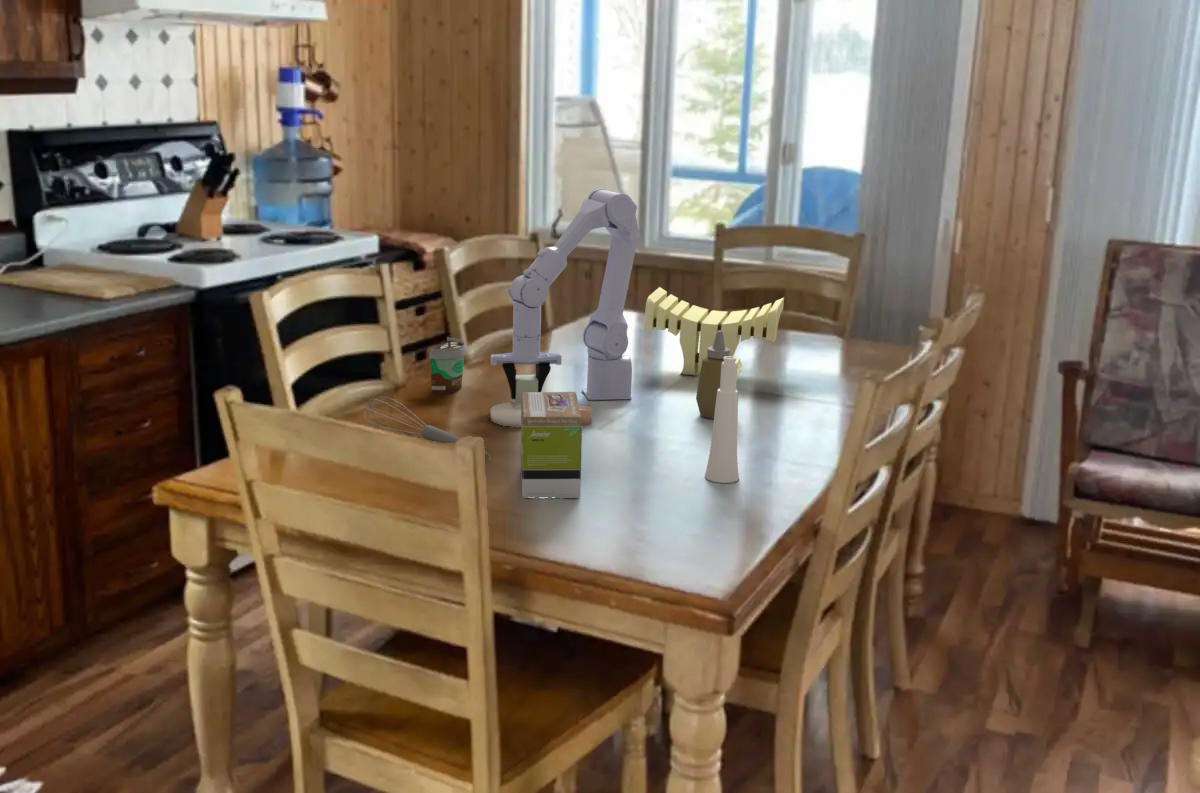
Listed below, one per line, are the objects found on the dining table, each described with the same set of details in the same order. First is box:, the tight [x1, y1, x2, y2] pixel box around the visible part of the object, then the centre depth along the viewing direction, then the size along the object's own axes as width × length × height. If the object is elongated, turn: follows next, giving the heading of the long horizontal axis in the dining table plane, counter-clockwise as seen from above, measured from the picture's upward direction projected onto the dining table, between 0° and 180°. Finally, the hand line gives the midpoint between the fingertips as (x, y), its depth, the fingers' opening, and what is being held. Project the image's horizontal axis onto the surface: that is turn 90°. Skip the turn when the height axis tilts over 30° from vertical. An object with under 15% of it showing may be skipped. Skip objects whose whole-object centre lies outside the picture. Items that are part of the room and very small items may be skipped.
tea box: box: [520, 391, 583, 499], centre depth 206 cm, size 15×10×15 cm, turn 5°
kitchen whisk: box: [363, 395, 492, 462], centre depth 227 cm, size 6×34×6 cm, turn 50°
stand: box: [490, 401, 521, 428], centre depth 243 cm, size 11×11×2 cm
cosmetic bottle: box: [704, 356, 740, 484], centre depth 211 cm, size 6×6×22 cm
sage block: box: [512, 374, 538, 402], centre depth 253 cm, size 4×4×6 cm
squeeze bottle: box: [695, 331, 730, 420], centre depth 249 cm, size 8×8×18 cm
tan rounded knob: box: [579, 404, 593, 427], centre depth 243 cm, size 5×5×3 cm
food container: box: [428, 336, 468, 394], centre depth 262 cm, size 12×6×10 cm, turn 168°
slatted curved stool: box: [643, 286, 785, 377], centre depth 284 cm, size 30×16×18 cm, turn 76°
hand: (525, 397), depth 253 cm, fingers closed on sage block, 4 cm apart
